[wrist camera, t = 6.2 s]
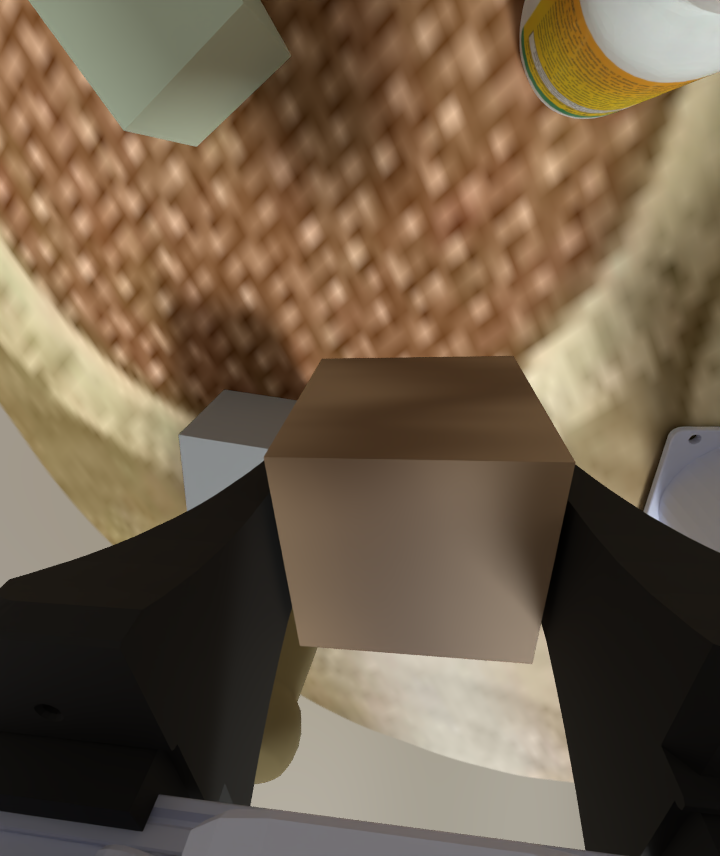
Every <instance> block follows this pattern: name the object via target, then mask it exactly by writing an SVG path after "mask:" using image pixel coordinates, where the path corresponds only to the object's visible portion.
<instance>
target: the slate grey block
mask: <svg viewBox="0 0 720 856" xmlns="http://www.w3.org/2000/svg"><path fill="white" fill-rule="evenodd" d="M296 402H297V400H290V399H284V398H277V397H270V396H264V395H257V394H251V393H244V392H237V391H231V390H223V391H222V392H221V393H220V394H219V395H218V396H217V397H216V398H215V399H214V400H213V401H212V402H211V403H210V404H209V405H208V406H207V407H206V408H205V409H204V410H203V411H202V412H201V413H200V414H199V415H198V416H197V417H196V418H195V419H194V420H193V421H192V422H191V423H190V424H189V425H188V426H187V427H186V428H185V429H184V430H183V431H182V432H181V433H180V434H179V443H180V452H181V461H182V469H183V478H184V487H185V495H186V504H187V511H188V510H190V509H192V508H194V507H196V506H197V505H199V504H201V503H203V502H204V501H206V500H208V499H209V498H211V497H213V496H214V495H216V494H217V493H219V492H220V491H222V490H223V489H225V488H226V487H228V486H229V485H231V484H232V483H234V482H235V481H237V480H238V479H240V478H241V477H242V476H244V475H245V474H247V473H248V472H250V471H251V470H252V469H254V468H255V467H256V466H257V465H259V464H260V463H261V462H263V461H264V456H265V454H266V452H267V450H268V449H269V447H270V445H271V444H272V442H273V440H274V439H275V437H276V435H277V434H278V432H279V430H280V429H281V427H282V425H283V424H284V422H285V420H286V419H287V417H288V415H289V414H290V412H291V410H292V408H293V407H294V405H295V403H296Z"/></svg>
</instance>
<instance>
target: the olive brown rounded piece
mask: <svg viewBox="0 0 720 856" xmlns="http://www.w3.org/2000/svg"><path fill="white" fill-rule="evenodd" d="M317 648H318V647H309V646H300V644H299V639H298V634H297V628H296V623H295V618H294V613H293V608H292V610H291V613H290V617H289V620H288V624H287V628H286V632H285V636H284V641H283V645H282V649H281V653H280V658H279V662H278V667H277V671H276V676H275V680H274V685H273V690H272V694H271V699H270V703H269V709H268V714H267V719H266V724H265V729H264V734H263V739H262V744H261V749H260V754H259V759H258V765H257V771H256V776H255V782H254V784H259V783H265V782H268V781H271V780H273V779H275V778H277V777H279V776H280V775H281V774H282V773H283V772H284V771H285V770H286V768H287V767H288V766H289V764H290V763H291V761H292V760H293V757H294V755H295V753H296V750H297V748H298V746H299V741H300V736H301V711H300V708H299V706H298V703H297V701H298V698H299V696H300V693H301V690H302V688H303V685H304V682H305V680H306V677H307V674H308V672H309V669H310V666H311V664H312V661H313V658H314V656H315V653H316V650H317Z"/></svg>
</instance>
